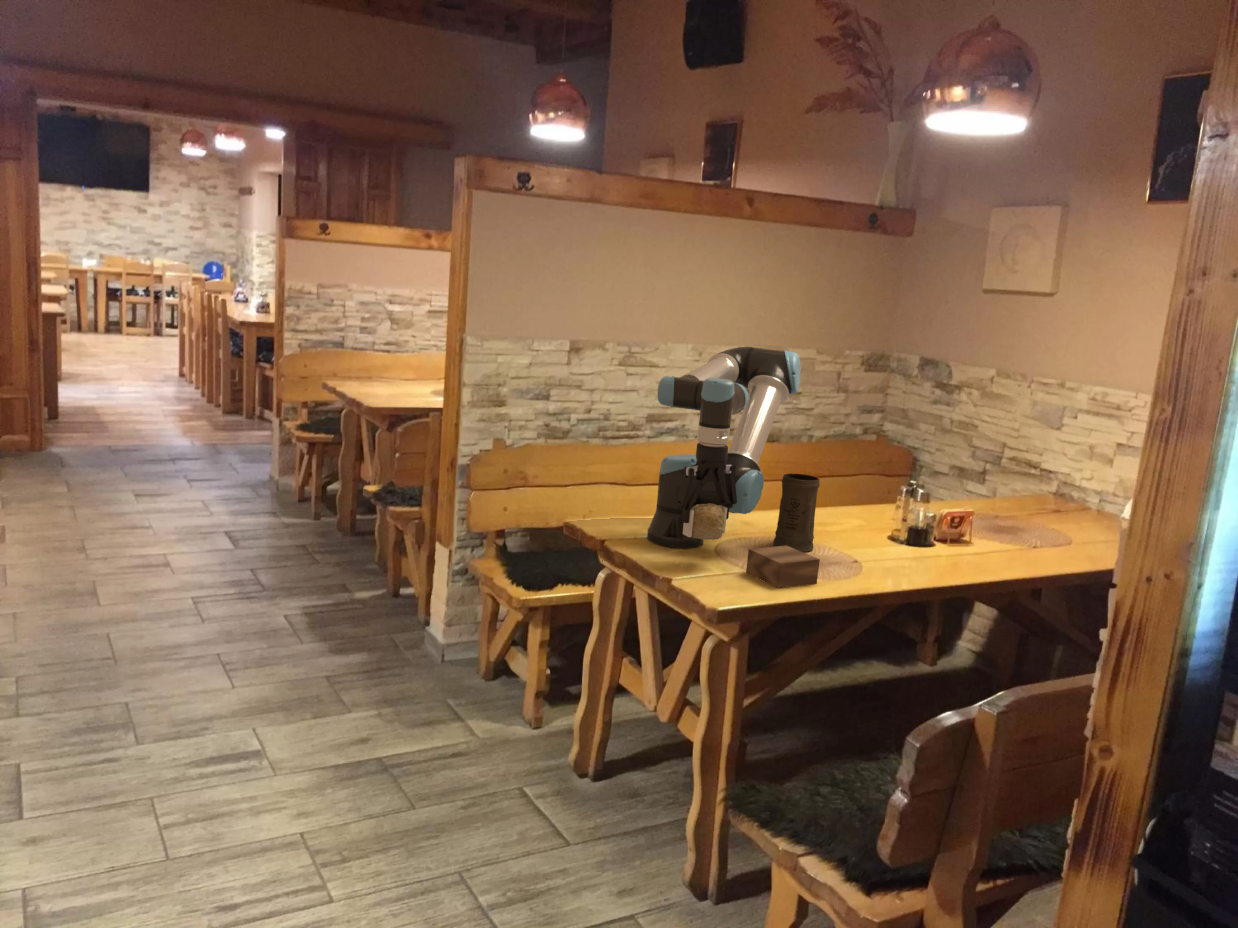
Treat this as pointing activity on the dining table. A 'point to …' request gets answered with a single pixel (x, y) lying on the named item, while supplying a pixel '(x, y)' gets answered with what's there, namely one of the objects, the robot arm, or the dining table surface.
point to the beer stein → (797, 512)
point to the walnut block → (782, 566)
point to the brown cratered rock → (707, 522)
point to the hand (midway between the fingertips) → (703, 533)
